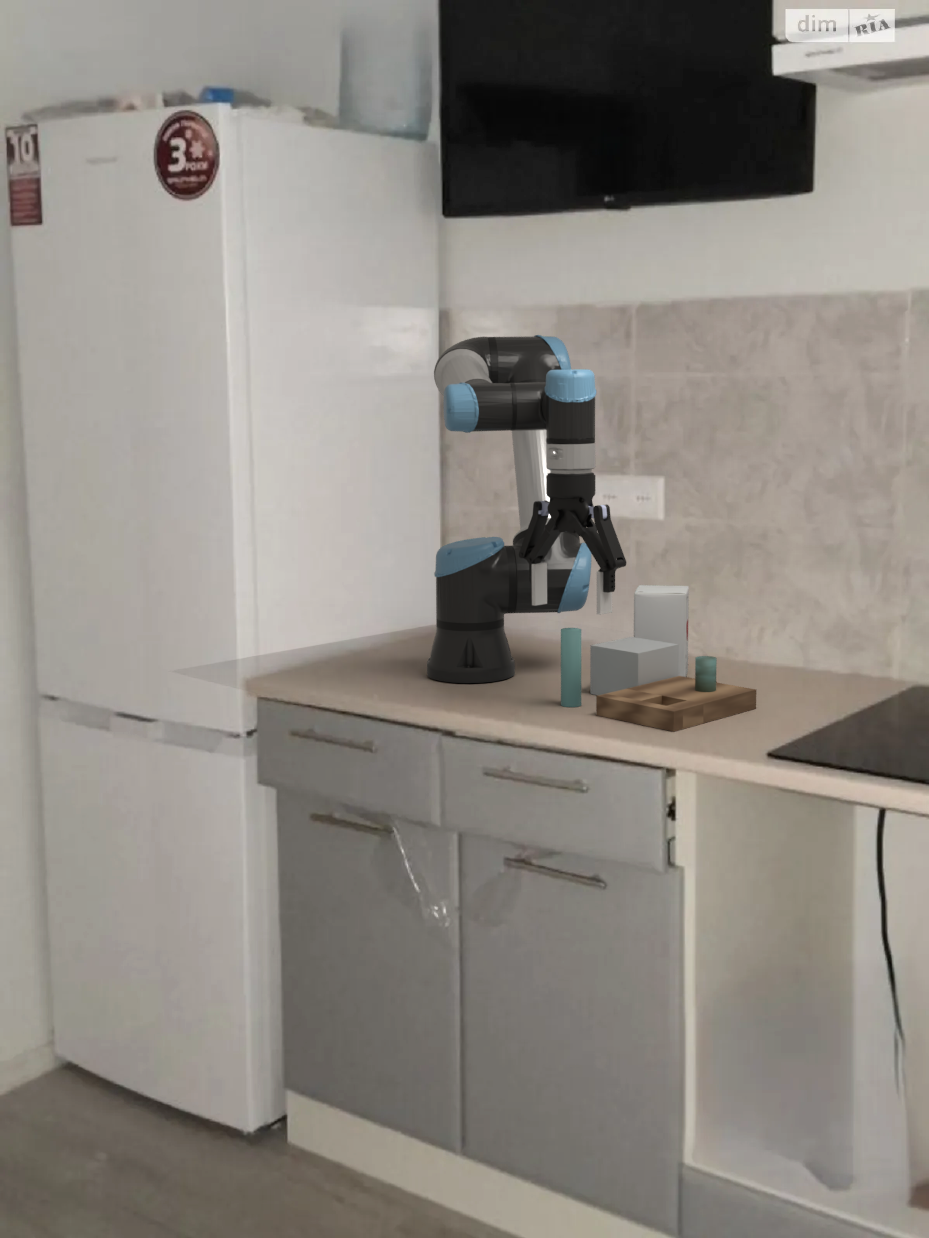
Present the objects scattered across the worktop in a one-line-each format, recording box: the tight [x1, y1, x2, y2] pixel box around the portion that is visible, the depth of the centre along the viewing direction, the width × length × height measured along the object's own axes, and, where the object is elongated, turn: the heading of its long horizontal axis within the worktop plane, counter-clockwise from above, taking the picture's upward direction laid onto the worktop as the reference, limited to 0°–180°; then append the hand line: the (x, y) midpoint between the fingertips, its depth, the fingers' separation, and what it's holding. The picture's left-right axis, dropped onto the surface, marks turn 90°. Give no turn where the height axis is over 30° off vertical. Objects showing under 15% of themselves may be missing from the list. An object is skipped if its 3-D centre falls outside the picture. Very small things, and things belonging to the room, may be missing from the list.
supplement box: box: [633, 584, 690, 677], centre depth 258 cm, size 9×9×15 cm
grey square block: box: [589, 636, 679, 696], centre depth 245 cm, size 10×10×8 cm
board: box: [595, 655, 757, 732], centre depth 232 cm, size 15×20×8 cm
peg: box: [560, 627, 582, 708], centre depth 238 cm, size 3×3×12 cm
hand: (571, 609), depth 236 cm, fingers open, 13 cm apart
